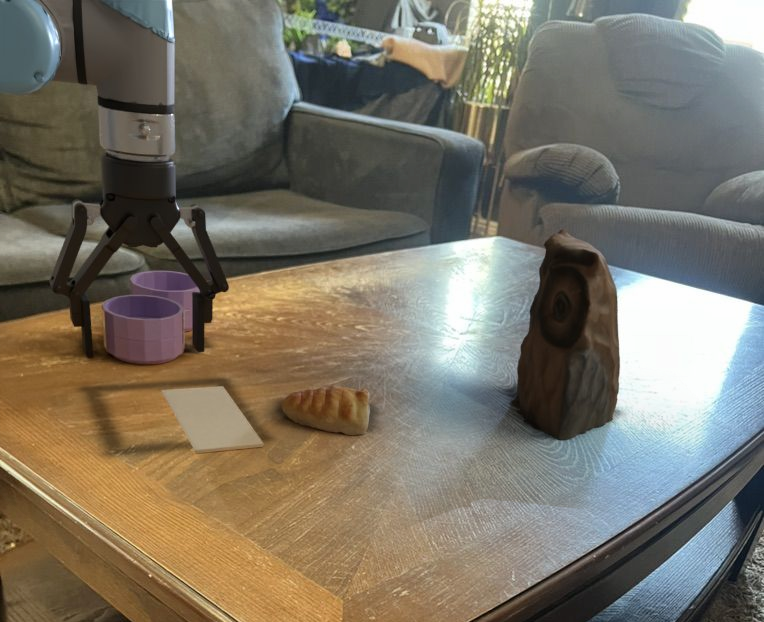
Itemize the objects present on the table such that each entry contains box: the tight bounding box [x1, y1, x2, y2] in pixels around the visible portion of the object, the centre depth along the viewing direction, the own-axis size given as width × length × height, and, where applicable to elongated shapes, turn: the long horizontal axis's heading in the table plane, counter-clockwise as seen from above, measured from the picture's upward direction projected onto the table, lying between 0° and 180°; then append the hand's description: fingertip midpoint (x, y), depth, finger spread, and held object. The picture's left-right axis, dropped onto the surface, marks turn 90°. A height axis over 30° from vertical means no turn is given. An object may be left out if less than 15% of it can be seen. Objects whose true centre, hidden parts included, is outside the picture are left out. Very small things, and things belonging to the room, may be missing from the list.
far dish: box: [129, 270, 200, 332], centre depth 101 cm, size 9×9×6 cm
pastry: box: [281, 384, 371, 436], centre depth 82 cm, size 9×7×4 cm
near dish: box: [101, 294, 186, 365], centre depth 91 cm, size 9×9×6 cm
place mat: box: [160, 385, 265, 454], centre depth 78 cm, size 14×14×1 cm
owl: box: [510, 228, 621, 441], centre depth 87 cm, size 13×13×20 cm
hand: (144, 350), depth 93 cm, fingers open, 12 cm apart
